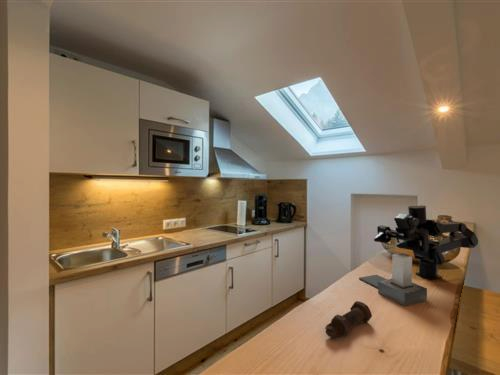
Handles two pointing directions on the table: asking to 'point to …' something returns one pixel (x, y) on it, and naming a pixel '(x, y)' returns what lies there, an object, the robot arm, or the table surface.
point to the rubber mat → (372, 280)
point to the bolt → (348, 320)
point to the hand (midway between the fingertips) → (385, 242)
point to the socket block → (402, 293)
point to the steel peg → (402, 270)
